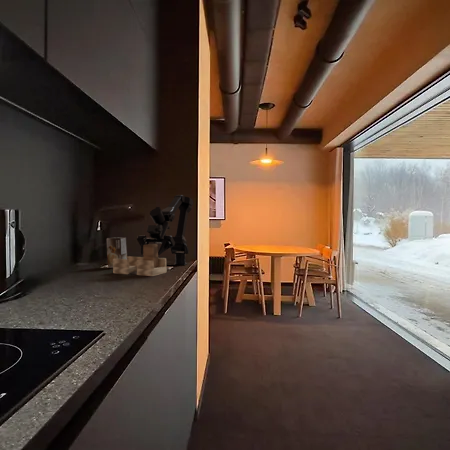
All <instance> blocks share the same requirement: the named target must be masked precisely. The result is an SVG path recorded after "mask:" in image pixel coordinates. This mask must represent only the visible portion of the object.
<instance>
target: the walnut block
mask: <svg viewBox="0 0 450 450" xmlns="http://www.w3.org/2000/svg"><path fill="white" fill-rule="evenodd" d="M158 244H159V243H153V244H152V243H151V244H150V243H149V244H147V245H143V256H142V257H144V260H148V261H154V268H156V267H158V258H159V255H158V252H159V250H158V249H159V248H158V246H159V245H158Z"/></svg>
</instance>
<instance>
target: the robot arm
mask: <svg viewBox="0 0 450 450" xmlns="http://www.w3.org/2000/svg"><path fill="white" fill-rule="evenodd" d="M193 206H194V200H193V198H192V197H188V196H185V195H183V194H177V195H174V197H173V199H172V201H170V203H169V205H168V206H166V208H163V209H161V206H155V208H154V209H152V210H151V211H150V212H149V215H150V218H151V219H152V221H153V223H154V224H148V225H147V228H146V233H148V235H149V237H147V235H145V234H144V235H140V234H139V235H137V238H136V240H137V242H138V244H139V245H140V253H141V255H143V245H147V244H150V243H153V244H161V245H160V248H158V249H159V250H158V256H161V255H162V254H163V253H164V252H166V251H167V250H169V249H170V252H171V254H175V255H174V259H175V261H174V263H173V265H174V266H186V265H187V264H188V262H186V255H188V254H190V249H189V246H188V245H187V244H188V242H187V239H186V237H185V235H186V229H187V225H188V224H187V223H188V218H189V217H188V216H189V213H190V212H191V211H192V209H193ZM177 210H179V213H178V214H179V215H178V220H177V225H176V226H177V227H176V233H175V235H174V236H173V235H167V234H166V232H167V230H170V229H171V228H170V223H172V222H173V221H174V220H175V218H176V214H175V213H177ZM169 222H170V223H169ZM155 224H156V225H155Z"/></svg>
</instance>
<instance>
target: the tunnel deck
mask: <svg viewBox="0 0 450 450" xmlns="http://www.w3.org/2000/svg"><path fill="white" fill-rule="evenodd" d="M167 270H168V269H167V257H158V267H156V268H154V261H148V260H144V256H130V255H129V256H128V255H127V259H113V268H112V271H113V274H118V275H136V276H144V277H145V276H146V277H147V276H148V277H154V276H158V275H162V274H166V273H167Z"/></svg>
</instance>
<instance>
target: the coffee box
mask: <svg viewBox="0 0 450 450" xmlns="http://www.w3.org/2000/svg"><path fill="white" fill-rule="evenodd" d="M127 243H128V242H127V237H107V238H106V255H107V259H106V260H107V268H108V267H109V268H111V269H113V259H127V257H128V244H127Z"/></svg>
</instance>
